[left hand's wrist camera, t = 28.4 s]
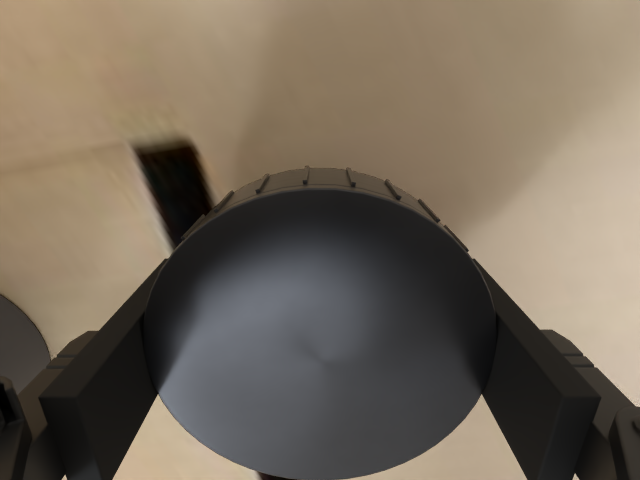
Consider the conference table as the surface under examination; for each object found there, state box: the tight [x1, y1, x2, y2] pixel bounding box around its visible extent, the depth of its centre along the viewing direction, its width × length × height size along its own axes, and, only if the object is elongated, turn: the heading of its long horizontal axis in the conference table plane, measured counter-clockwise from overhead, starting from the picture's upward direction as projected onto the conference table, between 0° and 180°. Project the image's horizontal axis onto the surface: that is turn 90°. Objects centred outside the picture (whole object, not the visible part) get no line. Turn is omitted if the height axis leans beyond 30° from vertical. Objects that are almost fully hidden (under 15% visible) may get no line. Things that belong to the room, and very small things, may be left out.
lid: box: [143, 166, 497, 480], centre depth 11 cm, size 10×10×2 cm
